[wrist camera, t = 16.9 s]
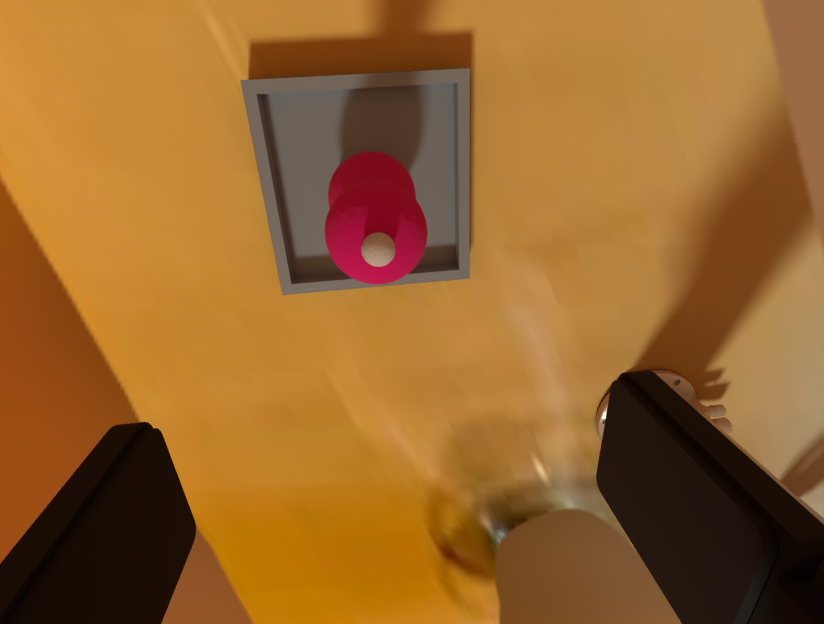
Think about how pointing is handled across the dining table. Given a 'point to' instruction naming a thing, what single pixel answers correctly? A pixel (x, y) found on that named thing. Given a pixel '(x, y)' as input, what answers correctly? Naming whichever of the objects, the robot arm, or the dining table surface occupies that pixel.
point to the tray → (351, 134)
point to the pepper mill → (374, 219)
